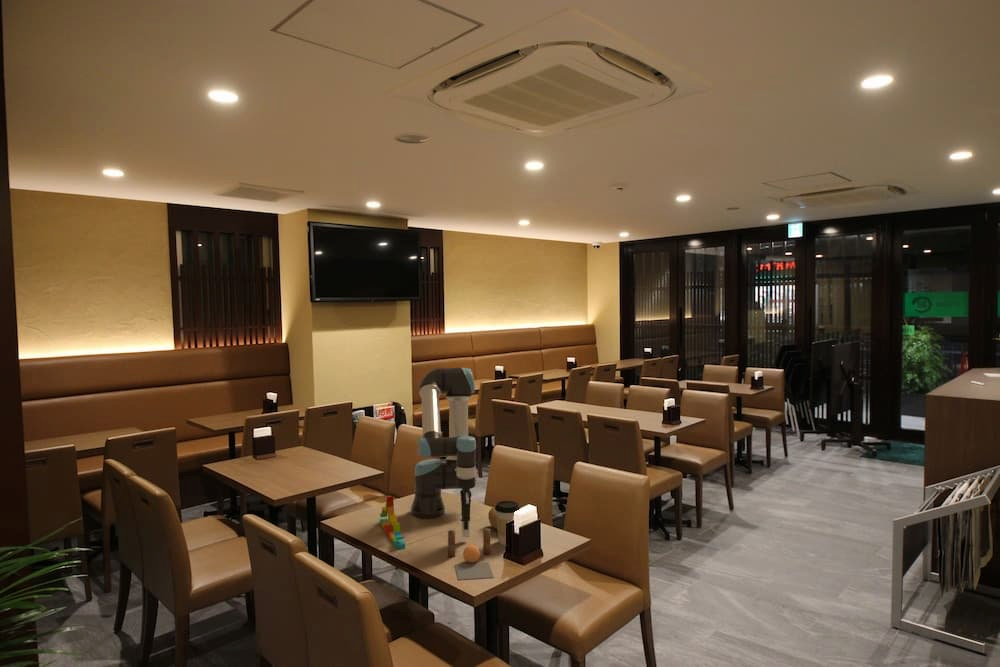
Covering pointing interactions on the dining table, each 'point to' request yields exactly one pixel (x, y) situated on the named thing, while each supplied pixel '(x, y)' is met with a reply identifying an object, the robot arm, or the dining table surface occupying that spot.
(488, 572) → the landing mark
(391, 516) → the colorful toy block stack
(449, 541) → the post
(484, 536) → the post
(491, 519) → the potato
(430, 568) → the dining table surface
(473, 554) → the ball
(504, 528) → the coffee cup
